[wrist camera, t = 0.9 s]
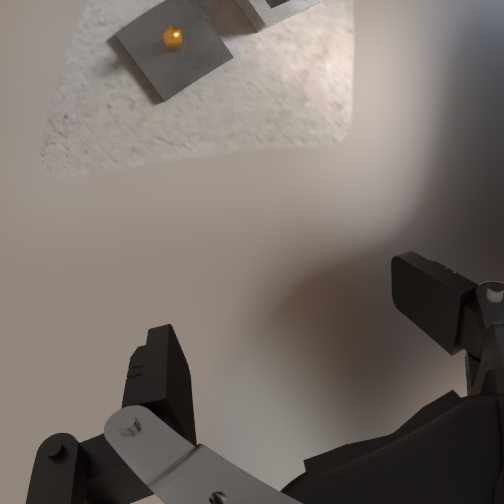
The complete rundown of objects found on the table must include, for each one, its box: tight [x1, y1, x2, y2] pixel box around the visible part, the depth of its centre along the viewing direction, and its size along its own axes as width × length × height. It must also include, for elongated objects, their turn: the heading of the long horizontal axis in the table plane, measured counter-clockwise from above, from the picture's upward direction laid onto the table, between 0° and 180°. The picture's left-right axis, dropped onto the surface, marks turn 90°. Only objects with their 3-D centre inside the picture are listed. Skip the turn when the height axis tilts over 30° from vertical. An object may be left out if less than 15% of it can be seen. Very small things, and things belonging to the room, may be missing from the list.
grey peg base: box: [116, 0, 234, 102], centre depth 21 cm, size 8×7×5 cm
